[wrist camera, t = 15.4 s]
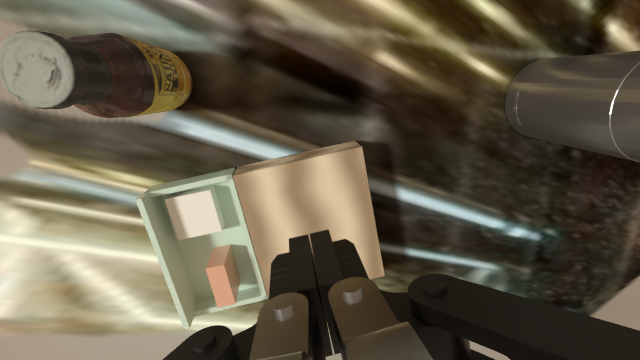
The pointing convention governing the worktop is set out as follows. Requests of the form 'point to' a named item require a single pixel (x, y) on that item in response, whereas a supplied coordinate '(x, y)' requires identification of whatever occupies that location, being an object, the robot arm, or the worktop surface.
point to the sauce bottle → (93, 74)
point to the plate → (309, 203)
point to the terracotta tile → (223, 276)
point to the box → (201, 246)
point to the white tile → (195, 212)
